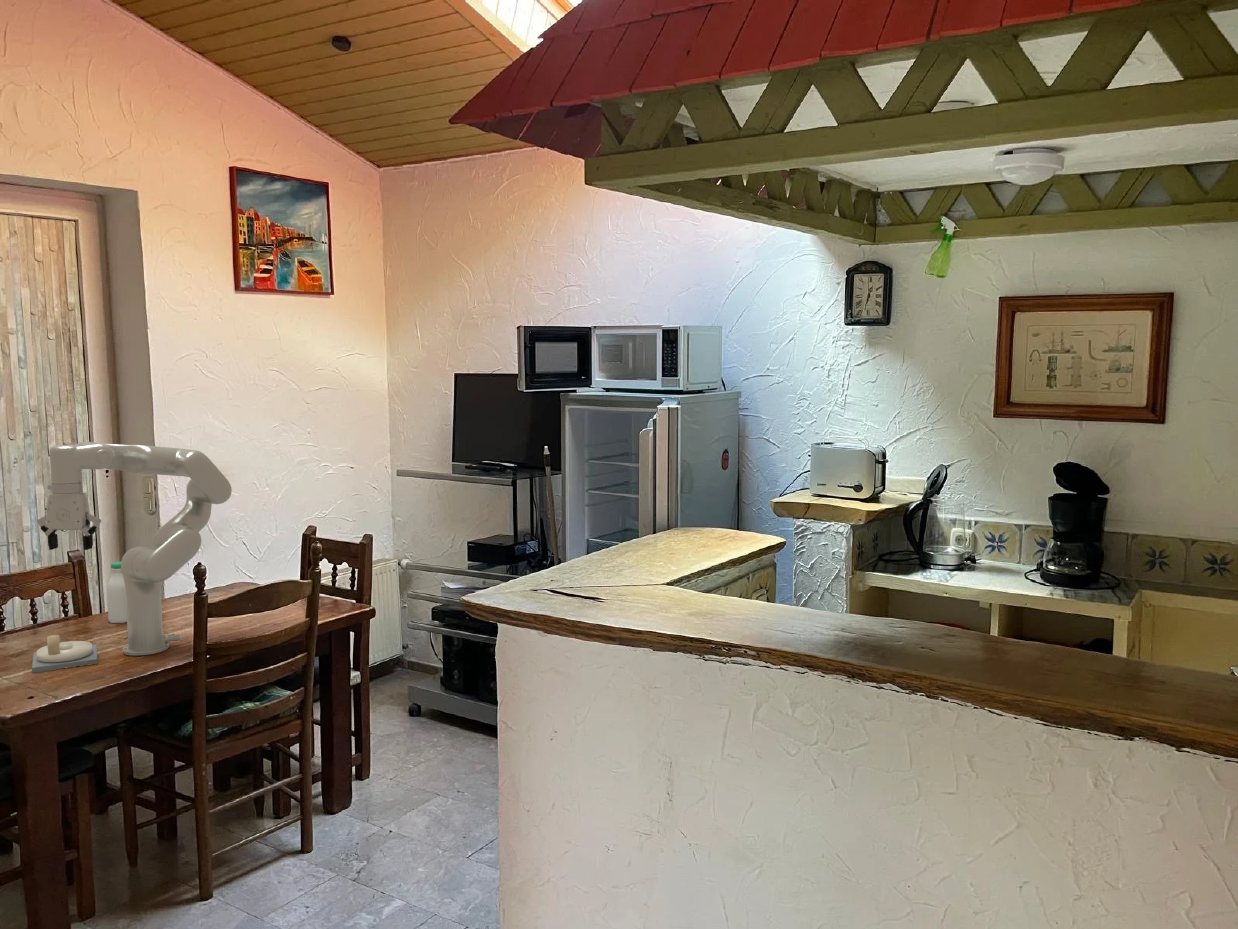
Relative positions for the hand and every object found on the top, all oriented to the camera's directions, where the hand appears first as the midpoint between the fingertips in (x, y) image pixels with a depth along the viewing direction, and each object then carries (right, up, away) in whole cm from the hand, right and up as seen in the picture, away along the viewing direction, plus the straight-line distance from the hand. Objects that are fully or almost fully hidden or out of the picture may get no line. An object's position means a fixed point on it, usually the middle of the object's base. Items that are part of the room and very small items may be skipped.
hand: (70, 549), depth 259 cm
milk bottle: (-13, -29, +51) cm, 61 cm away
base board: (-7, -34, +9) cm, 35 cm away
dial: (-7, -32, +9) cm, 34 cm away
